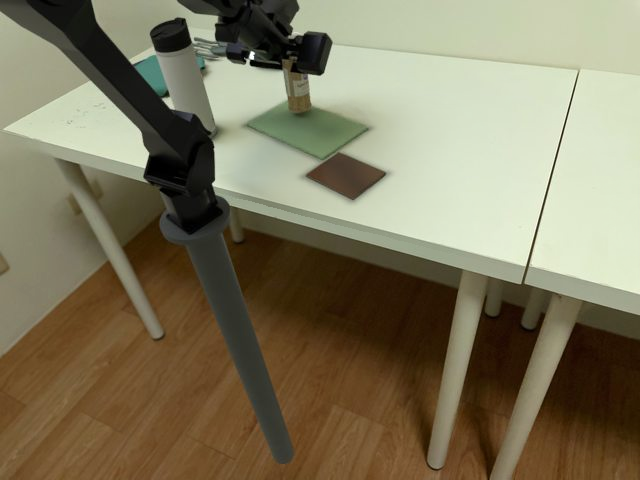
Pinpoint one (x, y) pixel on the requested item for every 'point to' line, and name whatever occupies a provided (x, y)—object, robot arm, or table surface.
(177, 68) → the travel mug
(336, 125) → the green mat
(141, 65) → the cutlery set
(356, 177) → the walnut mat
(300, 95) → the sprinkles bottle
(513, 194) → the table surface
